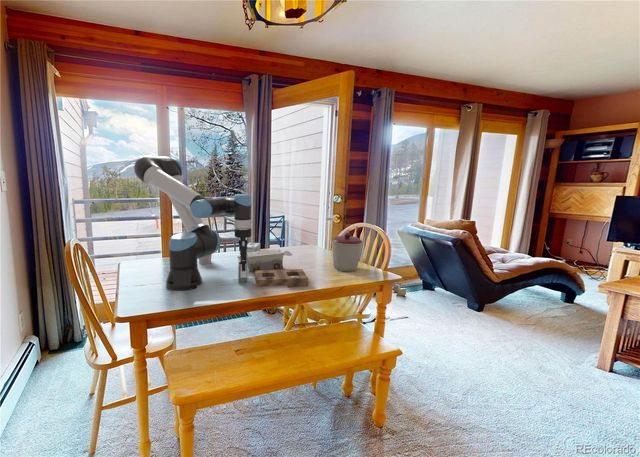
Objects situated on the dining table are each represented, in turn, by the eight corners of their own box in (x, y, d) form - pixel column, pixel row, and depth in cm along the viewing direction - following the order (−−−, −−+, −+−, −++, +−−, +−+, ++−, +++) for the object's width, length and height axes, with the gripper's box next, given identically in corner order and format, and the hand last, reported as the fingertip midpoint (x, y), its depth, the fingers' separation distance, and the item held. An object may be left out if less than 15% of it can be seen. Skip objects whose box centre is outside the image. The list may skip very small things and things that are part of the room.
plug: (238, 283, 151) (238, 262, 149) (238, 280, 155) (238, 260, 153) (247, 283, 152) (247, 262, 150) (246, 280, 156) (247, 260, 154)
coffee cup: (217, 262, 185) (217, 236, 183) (203, 265, 178) (202, 239, 175) (206, 259, 190) (206, 234, 188) (192, 262, 182) (191, 236, 180)
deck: (232, 287, 148) (232, 285, 148) (232, 280, 157) (232, 278, 157) (252, 286, 151) (252, 284, 151) (251, 280, 159) (252, 278, 159)
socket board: (256, 288, 149) (256, 279, 148) (254, 278, 162) (254, 270, 161) (307, 286, 155) (308, 277, 154) (302, 276, 168) (302, 268, 167)
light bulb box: (249, 259, 193) (249, 242, 191) (260, 260, 193) (260, 242, 191) (243, 265, 183) (243, 246, 181) (255, 265, 182) (255, 247, 180)
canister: (325, 271, 178) (327, 233, 174) (333, 262, 195) (335, 228, 191) (358, 275, 174) (361, 237, 170) (363, 266, 191) (365, 231, 187)
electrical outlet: (294, 270, 175) (293, 252, 173) (240, 277, 166) (238, 258, 164) (288, 264, 186) (288, 247, 184) (237, 270, 177) (236, 252, 175)
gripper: (252, 233, 138) (252, 281, 142) (250, 223, 162) (250, 264, 166) (234, 233, 136) (234, 282, 140) (234, 223, 160) (235, 265, 164)
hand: (243, 272), depth 153 cm, fingers open, 13 cm apart
